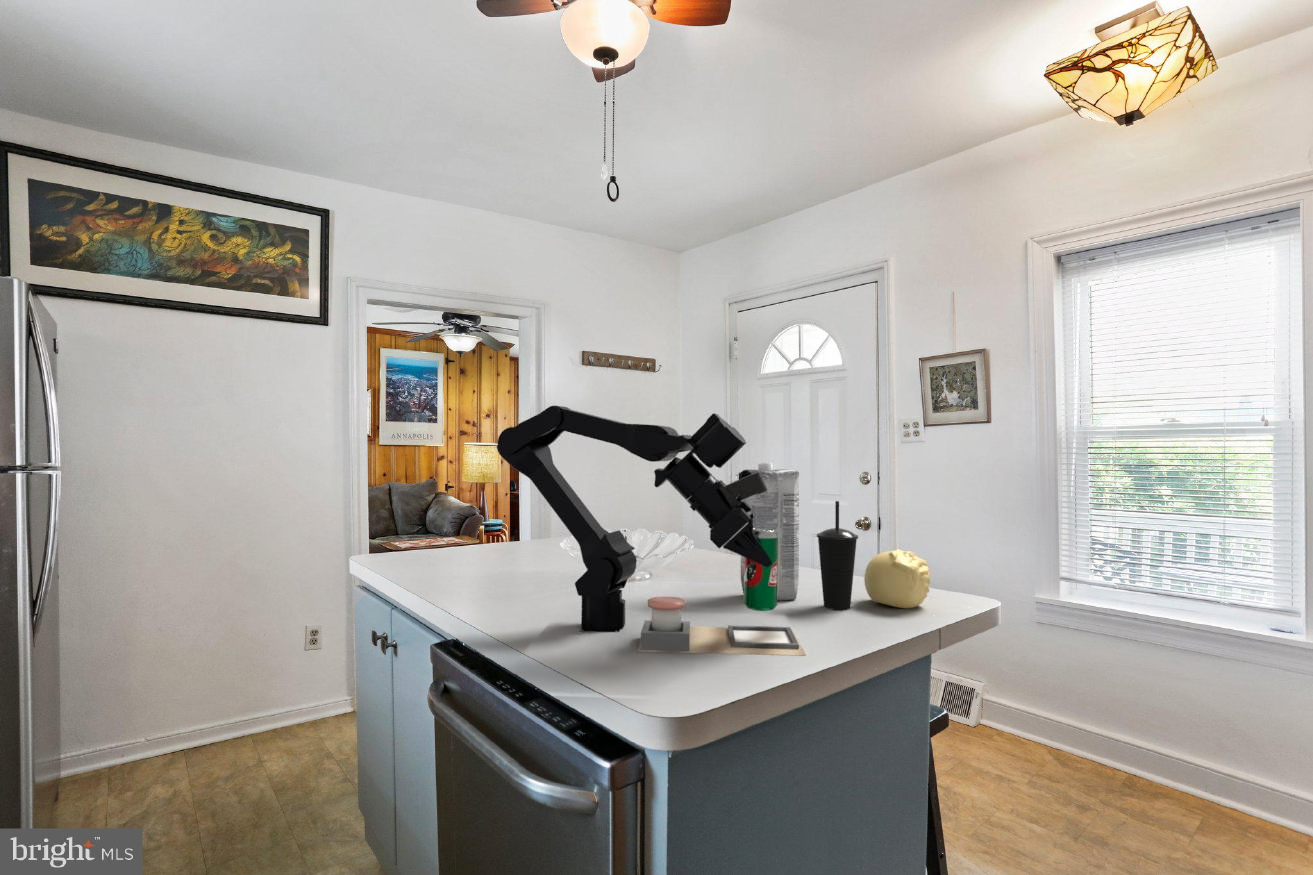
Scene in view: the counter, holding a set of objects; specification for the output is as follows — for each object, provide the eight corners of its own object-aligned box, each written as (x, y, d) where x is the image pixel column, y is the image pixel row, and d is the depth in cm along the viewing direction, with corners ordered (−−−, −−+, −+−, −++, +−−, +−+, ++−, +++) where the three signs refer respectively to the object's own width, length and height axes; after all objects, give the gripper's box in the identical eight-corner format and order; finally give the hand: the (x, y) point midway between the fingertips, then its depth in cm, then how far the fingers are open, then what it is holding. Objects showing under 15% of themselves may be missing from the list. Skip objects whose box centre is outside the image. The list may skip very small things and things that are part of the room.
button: (646, 634, 97) (646, 604, 97) (649, 624, 102) (649, 596, 103) (684, 635, 96) (684, 605, 97) (685, 625, 102) (685, 596, 102)
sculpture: (923, 615, 121) (923, 555, 121) (857, 606, 127) (857, 549, 127) (936, 603, 130) (936, 548, 130) (873, 595, 137) (873, 543, 137)
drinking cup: (843, 613, 121) (843, 503, 121) (808, 606, 127) (808, 500, 127) (866, 607, 126) (866, 501, 126) (831, 600, 132) (831, 499, 132)
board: (636, 655, 96) (636, 646, 96) (644, 629, 110) (644, 621, 110) (806, 659, 94) (806, 651, 94) (792, 632, 108) (792, 625, 108)
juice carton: (803, 600, 131) (804, 463, 132) (754, 603, 128) (755, 463, 129) (782, 591, 140) (783, 462, 140) (736, 594, 137) (736, 462, 137)
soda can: (776, 612, 100) (777, 532, 100) (742, 610, 101) (743, 531, 101) (777, 605, 105) (778, 528, 105) (744, 603, 106) (746, 527, 106)
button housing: (640, 650, 96) (640, 632, 96) (644, 636, 103) (644, 620, 103) (689, 651, 96) (689, 633, 96) (689, 637, 103) (690, 621, 103)
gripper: (735, 452, 94) (813, 534, 93) (738, 452, 113) (804, 520, 111) (678, 506, 95) (755, 588, 94) (691, 497, 114) (755, 565, 112)
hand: (770, 562), depth 103 cm, fingers closed on soda can, 5 cm apart
